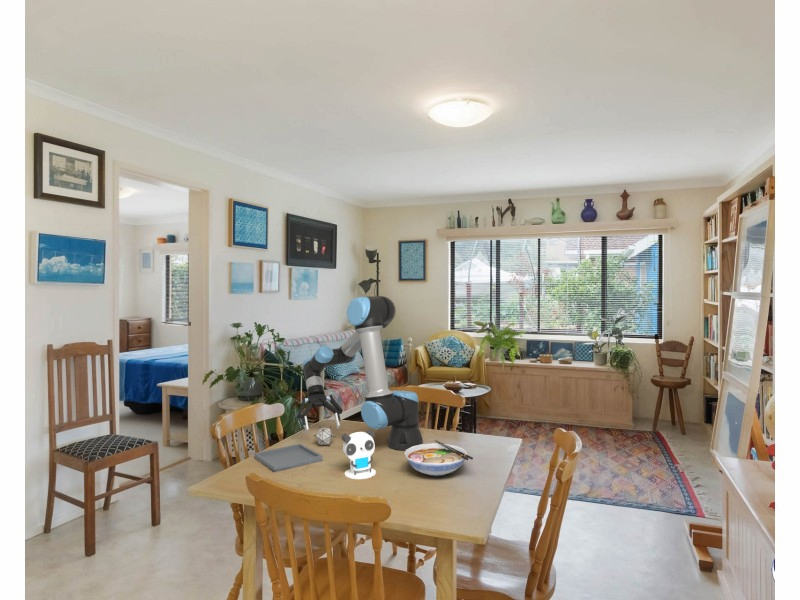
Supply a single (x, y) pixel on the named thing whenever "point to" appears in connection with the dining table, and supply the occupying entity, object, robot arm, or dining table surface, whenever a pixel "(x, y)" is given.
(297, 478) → the dining table surface
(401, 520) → the dining table surface
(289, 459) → the tray
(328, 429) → the game die
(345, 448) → the panda figurine
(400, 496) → the dining table surface
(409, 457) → the ramen bowl
